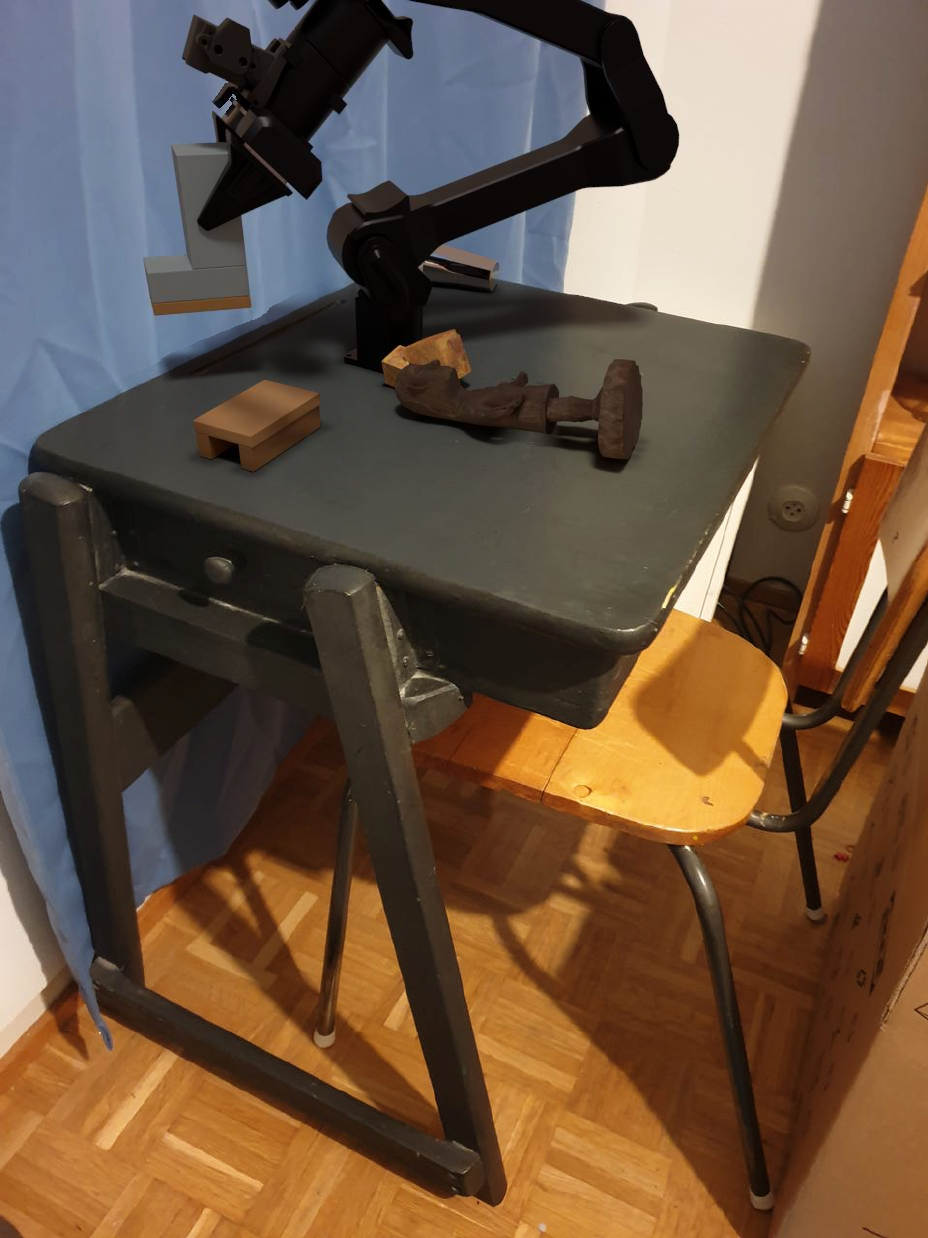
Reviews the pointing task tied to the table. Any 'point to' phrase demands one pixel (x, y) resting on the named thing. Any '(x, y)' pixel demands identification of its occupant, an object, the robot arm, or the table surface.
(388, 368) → the pyrite
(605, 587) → the table surface
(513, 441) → the table surface
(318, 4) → the robot arm
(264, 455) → the wooden footstool
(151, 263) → the grey stepped block
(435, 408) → the figurine
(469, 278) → the milkshake
